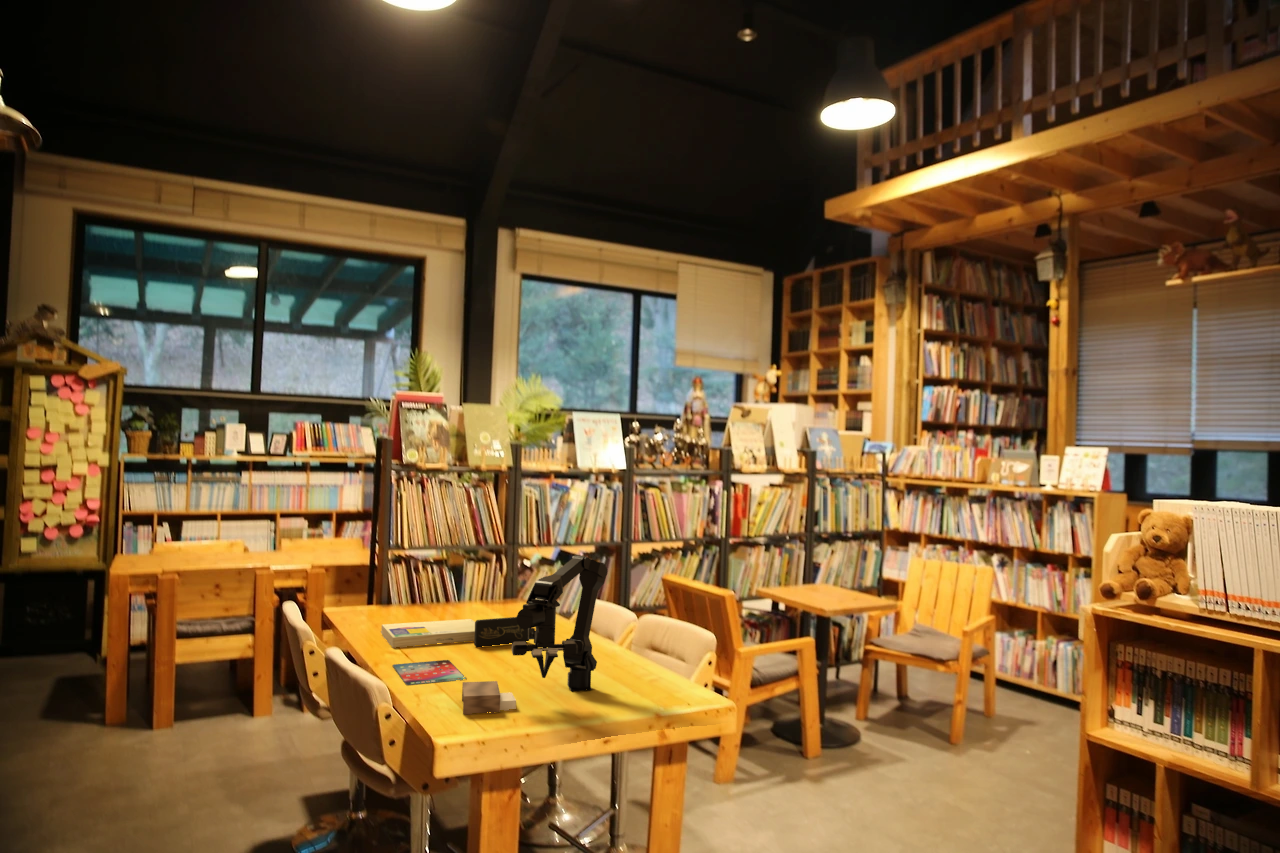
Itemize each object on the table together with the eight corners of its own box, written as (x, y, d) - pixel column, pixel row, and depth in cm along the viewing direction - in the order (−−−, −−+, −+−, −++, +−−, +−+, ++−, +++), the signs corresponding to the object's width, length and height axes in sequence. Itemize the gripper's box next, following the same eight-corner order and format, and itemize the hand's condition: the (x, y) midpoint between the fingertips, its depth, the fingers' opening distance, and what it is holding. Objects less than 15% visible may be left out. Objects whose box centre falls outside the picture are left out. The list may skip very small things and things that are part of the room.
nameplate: (527, 642, 316) (527, 616, 316) (528, 643, 314) (529, 617, 314) (474, 647, 305) (475, 620, 306) (475, 648, 304) (476, 620, 304)
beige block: (511, 702, 241) (511, 692, 241) (515, 711, 233) (516, 700, 233) (476, 705, 237) (477, 694, 238) (480, 713, 230) (480, 702, 230)
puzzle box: (487, 642, 316) (471, 629, 337) (488, 630, 316) (471, 618, 337) (390, 650, 299) (380, 635, 321) (391, 637, 300) (380, 623, 321)
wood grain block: (496, 698, 243) (497, 681, 243) (499, 713, 229) (500, 694, 230) (462, 699, 241) (462, 682, 241) (463, 714, 227) (463, 696, 227)
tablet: (406, 687, 253) (406, 684, 253) (391, 666, 275) (391, 664, 275) (467, 681, 262) (467, 678, 262) (448, 661, 284) (448, 659, 284)
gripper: (573, 617, 250) (571, 669, 249) (511, 618, 245) (509, 671, 245) (578, 625, 239) (577, 679, 238) (514, 626, 235) (512, 681, 234)
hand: (543, 677), depth 239 cm, fingers closed
